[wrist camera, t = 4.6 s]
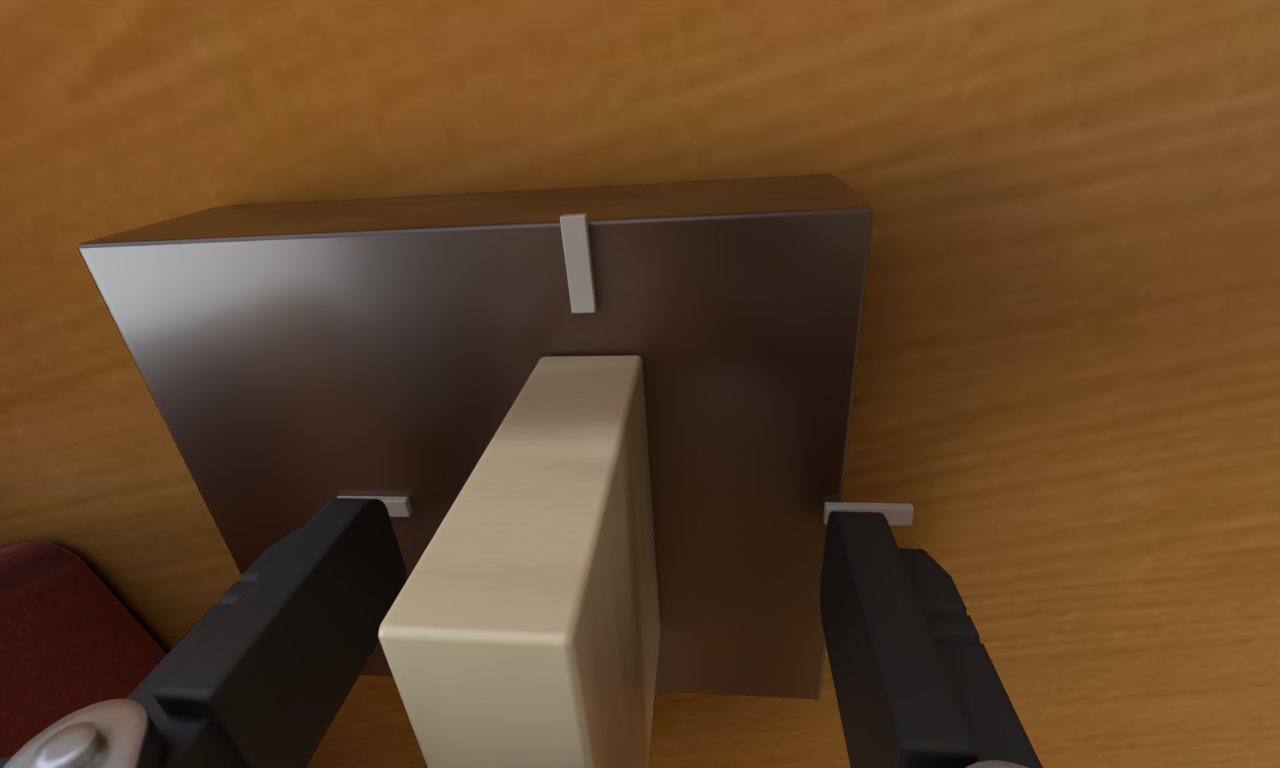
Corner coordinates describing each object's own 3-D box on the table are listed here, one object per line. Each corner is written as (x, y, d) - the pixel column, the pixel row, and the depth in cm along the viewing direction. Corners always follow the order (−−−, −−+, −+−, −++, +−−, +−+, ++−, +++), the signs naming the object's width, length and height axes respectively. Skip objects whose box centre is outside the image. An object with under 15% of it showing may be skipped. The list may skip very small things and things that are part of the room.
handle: (540, 354, 9) (355, 657, 4) (642, 353, 9) (565, 669, 4) (581, 626, 12) (494, 996, 7) (660, 629, 12) (626, 1013, 7)
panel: (900, 163, 10) (971, 196, 7) (846, 595, 15) (877, 714, 12) (212, 200, 12) (59, 240, 9) (357, 579, 16) (285, 681, 14)
